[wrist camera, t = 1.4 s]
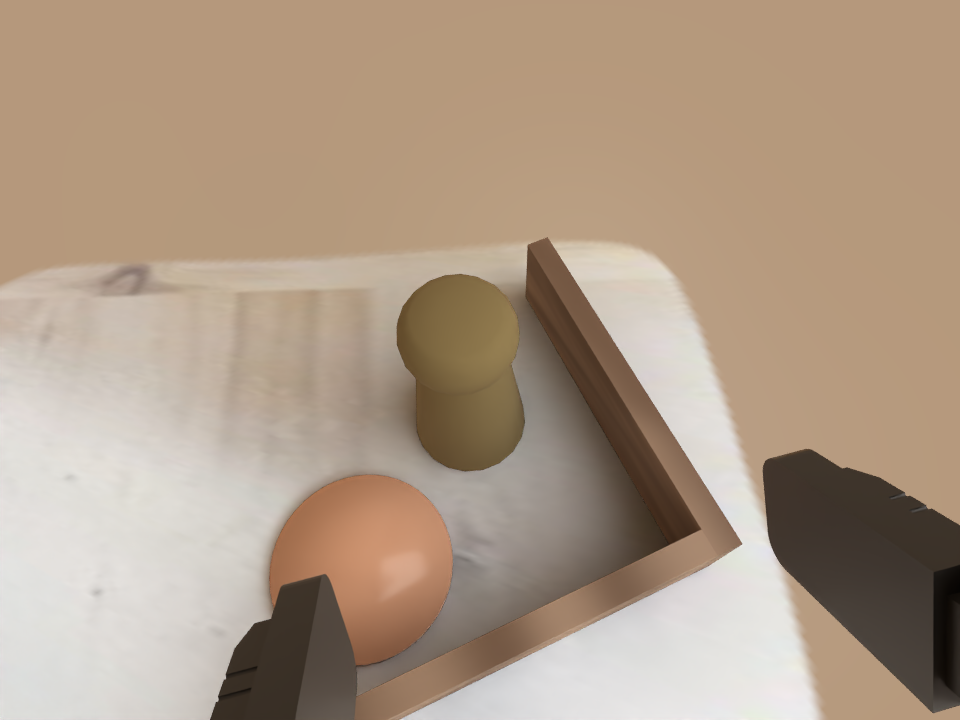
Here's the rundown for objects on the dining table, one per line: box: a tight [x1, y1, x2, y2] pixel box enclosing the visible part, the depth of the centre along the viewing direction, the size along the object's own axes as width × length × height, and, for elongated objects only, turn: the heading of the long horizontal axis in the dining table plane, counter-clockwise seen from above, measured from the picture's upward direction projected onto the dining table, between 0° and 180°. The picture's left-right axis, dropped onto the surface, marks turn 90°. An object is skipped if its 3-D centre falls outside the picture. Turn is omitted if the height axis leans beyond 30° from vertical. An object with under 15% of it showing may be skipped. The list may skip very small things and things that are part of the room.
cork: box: [397, 274, 525, 471], centre depth 30 cm, size 6×6×11 cm
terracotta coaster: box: [269, 475, 453, 666], centre depth 31 cm, size 9×9×1 cm
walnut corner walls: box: [354, 238, 742, 720], centre depth 31 cm, size 22×18×5 cm
